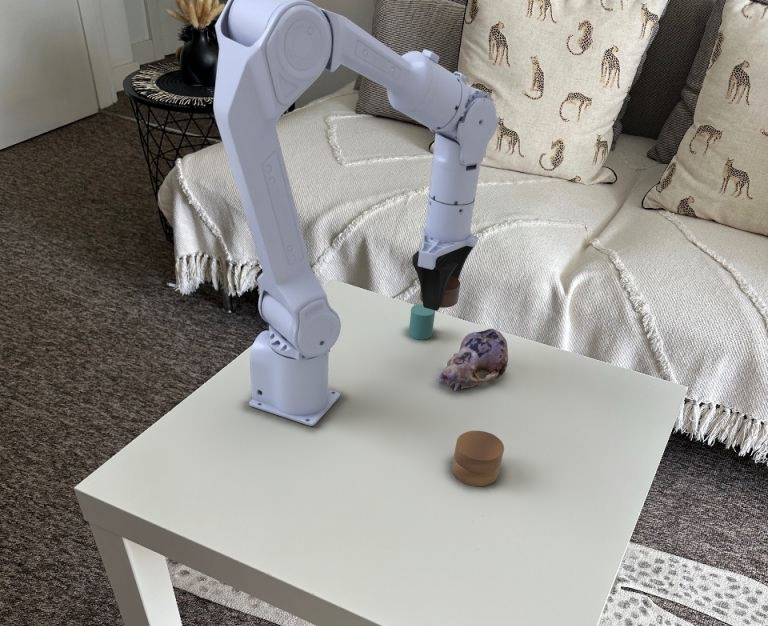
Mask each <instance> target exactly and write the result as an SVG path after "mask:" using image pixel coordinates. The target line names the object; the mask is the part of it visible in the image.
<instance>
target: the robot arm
mask: <svg viewBox="0 0 768 626" xmlns="http://www.w3.org/2000/svg"><path fill="white" fill-rule="evenodd" d="M214 29H215V33H216V38H217V43H218V56H217V65H216V66H217V67H216V76H215V85H214V95H213V113H214V119H215V121H216V125H217V128H218V132H219V135H220V138H221V141H222V145H223V148H224V152H225V154H226V157H227V160H228V164H229V168H230V170H231V174H232V176H233V180H234V183H235V186H236V190H237V192H238V195H239V200H240V202H241V205H242V209H243V212H244V215H245V218H246V221H247V225H248V227H249V232H250V235H251V238H252V241H253V244H254V248H255V250H256V253H257V257H258V260H259V264H260V266H261V267H260V268H261V270H262V272H261V273H260V274H259V276H258V277H257V278H256V281H257V285H258V289H259V297H258V304H257V306H258V307H257V308H258V311H259V312H258V313H259V314H260V317H261V318H262V320H263V321H264V322H265V323H267V324H268V330H263V331H261V332H260V333H259V334H258V335H257V336H256V338H255V340H254V341H253V343H252V346H251V349H250V354H249V370H250V371H249V373H250V384H251V385H250V387H251V397H252V398H251V399H250V401H249V402H248V403H249V406H250V407H253V408H255V409H258V410H260V411H264V412H267V413H270V414H273V415H276V416H280V417H282V418H284V419H288V420H291V421H294V422H297V423H300V424H304V425H306V426H309V427H314V426H315V425H316V424H317V423H318V422H319V421H320V420H321V419H322V417H324V415H325V414H326V413H327V412H328V411H329V410H330V409H331V408H332V406H333V405H334V404H335V403H336V402H337V401H338V400H339V399H340V398H341V393H340V392H339V391H335V390H333V389H330V388H329V359H330V358H329V353H330V352H331V349H332V348H333V347H334V345H335V344H336V343H337V341H338V339H339V336H340V333H341V328H342V324H341V318H340V316H339V314H338V312H337V311H336V310H335V309H333V308H332V306H331V305H330V303H329V300H328V296H327V293H326V291H325V289H324V288H323V286H322V284H321V283H320V282H319V280H318V278H317V277H316V276H315V274H314V272H313V270H312V266H311V263H310V259H309V255H308V251H307V248H306V244H305V239H304V236H303V231H302V227H301V223H300V219H299V215H298V211H297V208H296V204H295V199H294V196H293V191H292V187H291V183H290V179H289V174H288V172H287V168H286V167H287V166H286V163H285V158H284V155H283V151H282V146H281V142H280V140H279V139H280V138H279V135H278V131H277V123H278V122H279V120H280V118H281V117H282V115H283V114H284V113H285V112H286V111H287V110H288V109H289V108H290V107H291V106H292V105H294V103H295V102H296V100H298V99H299V98H300V97H301V96H302V95H303V94H304V93H305V91H307V90H308V89H309V88H310V87H311V86H312V85H313V83H315V82H316V81H317V79H319V77H320V76H321V75H322V74H323V72H324V70H325V71H327V72H329V73H333V72H335V71H336V70H337V69H338V68H339V67H340V65H342V66H344V67H346V68H348V69H349V70H351V71H354V72H355V73H357V74H358V75H361V76H363V77H364V78H367V79H368V80H371V81H373V82H374V83H376V84H378V85H380V86H382V87H384V88H385V89H386V94H387V100H388V102H389V105H390V106H391V107H392V108H393V109H394V110H396V111H397V112H399V113H401V114H403V115H405V116H407V117H408V118H410V119H412V120H414V121H416V122H417V123H419V124H421V125H422V126H425V127H427V128H428V129H429V131H430V132H431V133H433V134H434V133H435V135H434V144H433V152H432V161H431V162H432V163H431V170H430V171H431V172H430V181H429V189H428V190H429V191H428V199H427V209H426V217H425V227H424V228H423V229H422V230H423V231H422V241H421V243H422V245H421V248H420V250H417V251H416V252H415V253H414V254H413V255H412V259H411V265H412V266H413V268H414V270H415V272H416V275H417V278H418V281H419V285H420V287H419V288H420V291H421V294H422V301H421V302H422V304H423V307H424V308H428V309H431V310H435V312H438V311H439V310H440V309H441V308H440V306H441V303H442V300H443V297H444V293H445V289H446V286H447V283H448V281H449V278H450V276H451V275H452V276H454V277H456V278H457V279H458V280H459V279H460V276H461V273H462V271H463V268H464V266H465V263H466V262H467V260H468V257H469V256H470V254H471V252H472V251H473V250H474V248H475V246H476V245H477V244H478V243H479V237H478V236H477V235H474V234H472V229H471V228H472V221H473V216H474V209H475V204H476V203H475V202H476V196H477V190H478V189H477V188H478V183H479V176H480V171H481V163H483V161H484V158H486V153H487V149H488V145H489V143H490V141H491V140H492V138H493V137H494V135H495V133H496V131H497V129H498V126H499V121H500V118H499V117H498V116H497V109H496V105H495V103H494V102H493V101H494V99H493V97H492V96H491V95H490V94H489V93H488V92H486V91H483V90H481V89H478V88H476V87H473V86H471V85H468V83H467V80H468V78H467V76H466V75H465V74H463V73H462V72H459V71H454V72H451V71H450V70H448V69H447V68H445V67H443V66H442V65H440V64H439V61H440V56H439V55H438V54H436V53H435V52H434V51H431V50H428V49H426V48H425V49H423V50H422V51H421V52H420V51H418V50H411V51H408V52H406V53H404V54H403V55H399V54H398V53H397V52H395V51H394V50H393V49H391V48H390V47H389V46H387V45H385V44H384V43H383V42H381V41H380V40H378V39H377V38H376V37H374V36H373V35H371V33H369V32H367V31H366V30H364V29H363V28H361V27H360V26H359V25H357V24H356V23H355V22H353V21H352V20H350V19H349V18H347V17H346V16H344V15H341V14H338V13H335V12H333V11H330V10H327V9H324V8H322V7H320V6H317V5H316V4H315V3H313V2H311V1H309V0H227V2H226V4H225V5H224V8H223V9H222V11H221V13H220V15H219V17H218V18H217V21H216V23H215V25H214Z"/></svg>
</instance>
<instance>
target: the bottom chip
mask: <svg viewBox="0 0 768 626" xmlns="http://www.w3.org/2000/svg"><path fill="white" fill-rule="evenodd" d="M500 469H501V465H500V466H499V467H498V469H496V470H495V471H492V472H489V473H474V472H470V471H467V470H465V469H464V468H462V467H461V466H459V465H458V463H457V462H456V460H455V457H454V456H453V459H452V466H451V471H452V475H453V476H454V477H455V478H456V479H457V481H459V482H461V483H463V484H465V485H468V486H470V487H471V486H473V487H485V486H489V485H491V484H493V483H495V482H496V481H497V479H498V477H499V474H500Z"/></svg>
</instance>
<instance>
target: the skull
mask: <svg viewBox="0 0 768 626" xmlns="http://www.w3.org/2000/svg"><path fill="white" fill-rule="evenodd" d="M508 362H509V350H508V342H507V340H506V338H505V337H504V335H503V334H502V333H501V331H499V330H497V329H495V328H488V329H484V330H480V331H473V332H470V333H468V334H467V335H465V337H464V338H462V341H461V343H460V347H459V349H458V351H457V352H456V353H454V354H453V356H452V357H451V358H449V359H448V361H447V362H446V367H444V369H443V370H442V371H441V373H440V375H439V376H438V383H442V381H443V382H444V383H446V385H447V386H450V387H451V386H452V385H453V384H454V388H453V392H456V391H457V389H458V387H459V386H460V385H461V388H460V390H463V389H468V388H471V389H472V388H473V387H474V386H477V385H481V384H484V383H486V382H489V381H490V380H492V379H495V380H496V379H498V378H500V377H502V376H503V375H504V374H505V372H506V369H507V367H508ZM480 372H481V373H482V372H485V373H488V374H487V375H486V376H485V378H480V377H479V375H478V373H480Z"/></svg>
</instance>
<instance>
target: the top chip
mask: <svg viewBox="0 0 768 626" xmlns="http://www.w3.org/2000/svg"><path fill="white" fill-rule="evenodd" d="M504 452H505V445H504V443H503V441H502V440H501V439H500V438H499V437H498V436H496V435H495V434H493V433H491V432H488V431H483V430H469V431H465V432H463V433H462V434H460V435H459V436H458V437H457V438H456V443H455V449H454V455H453V458H454V457H455V460H456V462H457V463H458V465H459V466H461V467H462V468H464V469H465V470H467V471H470V472H474V473H489V472H492V471H495V470H496V469H498V467H499V466H500V467H501V465H502V460H503V457H504Z"/></svg>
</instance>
